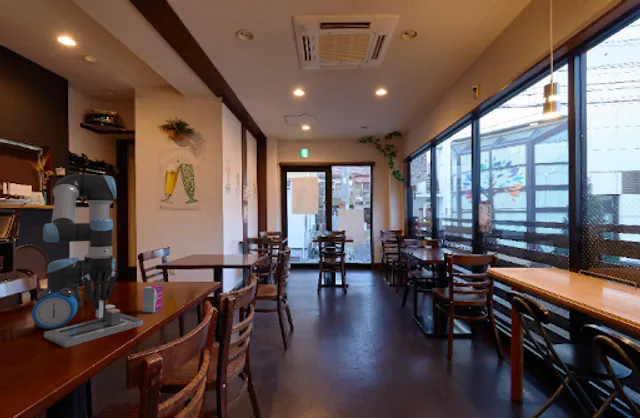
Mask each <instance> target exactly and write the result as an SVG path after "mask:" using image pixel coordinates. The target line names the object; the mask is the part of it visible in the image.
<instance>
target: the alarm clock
mask: <svg viewBox="0 0 640 418" xmlns="http://www.w3.org/2000/svg"><path fill="white" fill-rule="evenodd" d="M54 291H58V290H54ZM52 292H53V291H52V290H50V289H47V288H46V289H41V291H40V292H39V293H38V294H37V299H38V300H37V302H36V303H35V304H34V305H33V308H32V311H31V316H32V317H31V318H32V321H34V323H35V324H36V325H37V326H38V327H41V328H42V329H41V330H44V329H47V330H48V329H49V330H55V329H59V328H63V327H66V326H65V325H66V324H68V323H69V322H70V321H71V320H72V319H73V318H74V316H75V315H76V314H77V311H78V309H79V308H78V304H77V301H76V299H75V298H74V297H73V295H74V291H73V290H72V289H70V288H63V289H61V290H60V291H59V292H54V293H52ZM50 293H51V294H50ZM48 294H49V295H48Z"/></svg>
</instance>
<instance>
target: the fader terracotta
mask: <svg viewBox="0 0 640 418" xmlns="http://www.w3.org/2000/svg"><path fill="white" fill-rule="evenodd" d="M120 313H121V309H118V308H116V307H115V308H114V309H110V310H106V324H108V325H111V326H112V325H115V324H119V323H120Z"/></svg>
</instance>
